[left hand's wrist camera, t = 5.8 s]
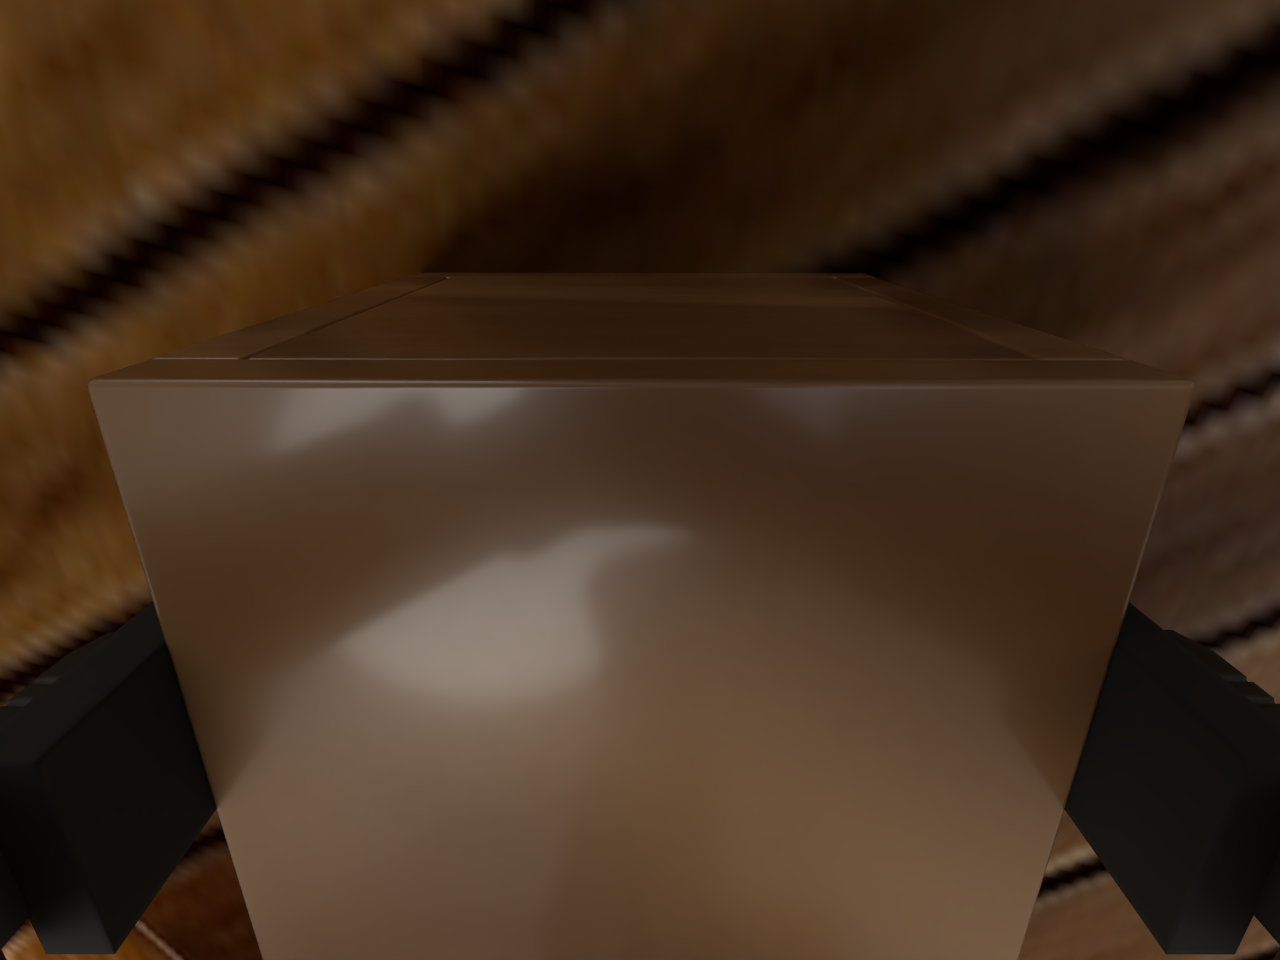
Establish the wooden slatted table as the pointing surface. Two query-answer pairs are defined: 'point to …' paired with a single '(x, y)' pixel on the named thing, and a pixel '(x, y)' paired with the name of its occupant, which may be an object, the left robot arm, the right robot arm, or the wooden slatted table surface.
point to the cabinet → (640, 609)
